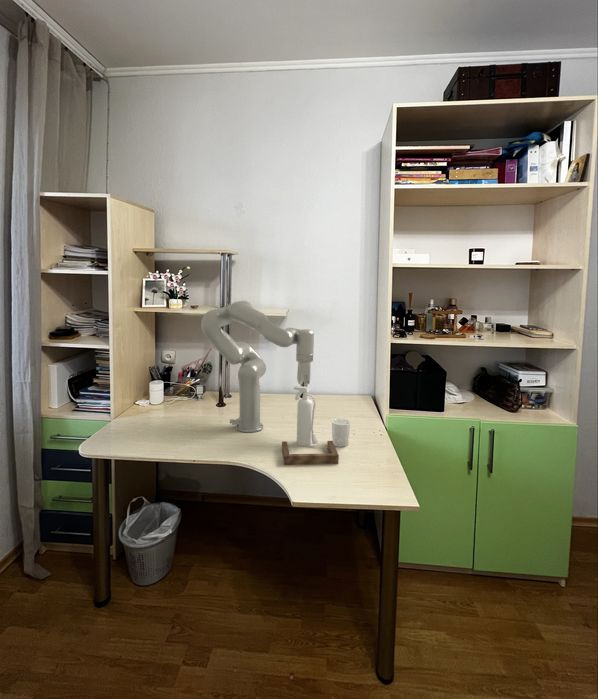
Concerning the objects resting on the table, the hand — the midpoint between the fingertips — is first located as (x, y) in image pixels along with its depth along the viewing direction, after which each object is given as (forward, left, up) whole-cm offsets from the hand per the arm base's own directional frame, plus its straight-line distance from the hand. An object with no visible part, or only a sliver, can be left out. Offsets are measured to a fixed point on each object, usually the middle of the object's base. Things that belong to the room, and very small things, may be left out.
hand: (303, 397), depth 205 cm
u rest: (0, -25, -17) cm, 30 cm away
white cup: (+15, -12, -17) cm, 26 cm away
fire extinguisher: (0, -11, -17) cm, 21 cm away
